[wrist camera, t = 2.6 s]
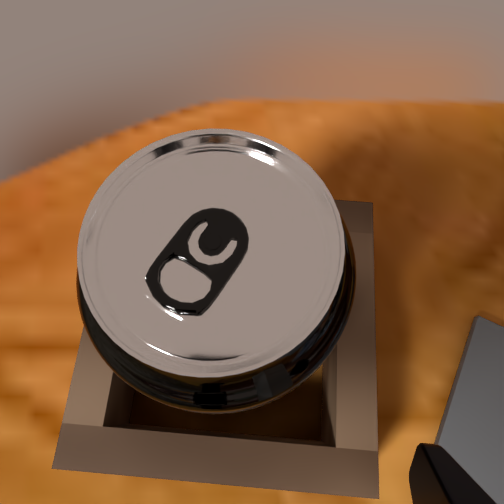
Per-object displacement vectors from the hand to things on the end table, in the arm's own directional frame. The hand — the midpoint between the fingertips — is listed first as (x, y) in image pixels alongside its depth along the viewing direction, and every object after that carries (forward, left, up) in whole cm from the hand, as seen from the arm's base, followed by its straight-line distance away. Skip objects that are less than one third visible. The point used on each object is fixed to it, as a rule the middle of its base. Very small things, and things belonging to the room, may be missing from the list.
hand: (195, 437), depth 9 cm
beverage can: (+4, +1, -11) cm, 12 cm away
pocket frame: (+4, +1, -11) cm, 11 cm away
